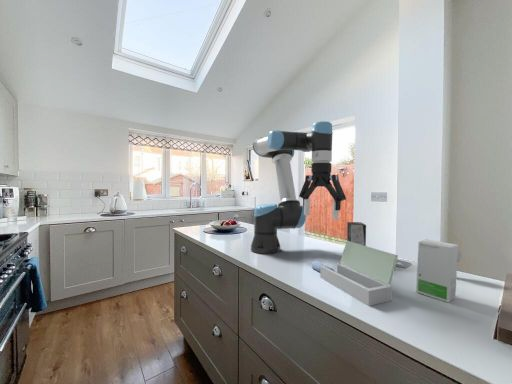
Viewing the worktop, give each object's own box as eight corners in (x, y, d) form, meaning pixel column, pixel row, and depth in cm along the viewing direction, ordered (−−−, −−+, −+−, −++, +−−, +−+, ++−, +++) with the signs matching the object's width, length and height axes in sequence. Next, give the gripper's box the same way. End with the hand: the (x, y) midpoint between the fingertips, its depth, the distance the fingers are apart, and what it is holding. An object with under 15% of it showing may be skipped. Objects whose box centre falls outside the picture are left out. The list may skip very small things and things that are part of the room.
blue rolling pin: (312, 269, 92) (310, 262, 91) (318, 267, 93) (317, 259, 93) (328, 279, 82) (326, 270, 82) (335, 276, 83) (334, 267, 83)
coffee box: (366, 262, 99) (366, 224, 99) (350, 261, 101) (350, 224, 100) (361, 256, 108) (361, 221, 108) (346, 255, 109) (346, 221, 109)
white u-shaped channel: (320, 277, 82) (320, 266, 82) (339, 274, 85) (339, 263, 85) (368, 305, 62) (368, 290, 62) (391, 300, 65) (391, 286, 65)
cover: (346, 240, 86) (348, 241, 86) (340, 263, 85) (341, 263, 86) (396, 254, 67) (398, 255, 68) (388, 284, 67) (390, 284, 67)
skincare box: (415, 292, 71) (416, 241, 70) (423, 287, 75) (424, 238, 74) (450, 303, 64) (451, 246, 64) (457, 297, 68) (458, 243, 68)
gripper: (291, 164, 99) (290, 213, 100) (345, 159, 79) (343, 222, 80) (303, 164, 103) (302, 212, 104) (356, 161, 84) (355, 220, 84)
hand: (320, 216), depth 92 cm, fingers open, 13 cm apart
